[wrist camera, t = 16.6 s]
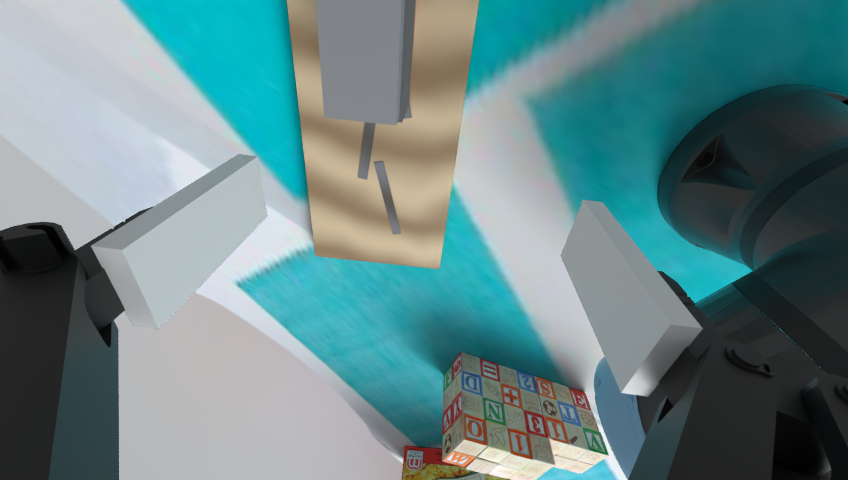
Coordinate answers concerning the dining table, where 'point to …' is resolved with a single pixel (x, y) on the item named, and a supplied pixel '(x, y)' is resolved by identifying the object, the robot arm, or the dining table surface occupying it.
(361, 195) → the plank
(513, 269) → the dining table surface
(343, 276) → the dining table surface
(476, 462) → the stack of blocks
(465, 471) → the board game box
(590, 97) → the dining table surface
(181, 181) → the dining table surface
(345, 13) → the block
